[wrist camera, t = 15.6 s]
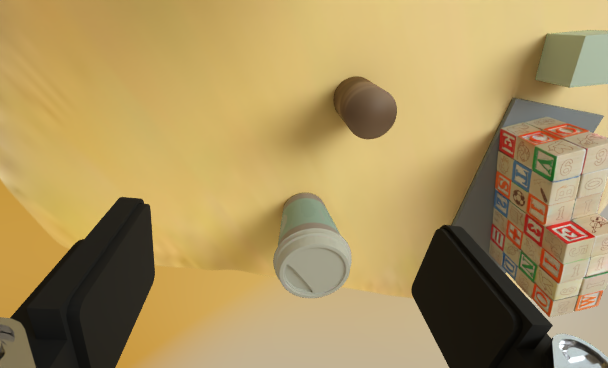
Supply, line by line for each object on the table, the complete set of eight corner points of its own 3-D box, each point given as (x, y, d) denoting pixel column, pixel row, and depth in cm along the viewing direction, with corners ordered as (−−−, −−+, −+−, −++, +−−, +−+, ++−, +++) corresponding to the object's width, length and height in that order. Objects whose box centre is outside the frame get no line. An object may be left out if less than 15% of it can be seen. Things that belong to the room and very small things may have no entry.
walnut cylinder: (339, 72, 35) (354, 83, 29) (380, 80, 36) (403, 93, 30) (329, 116, 37) (341, 135, 31) (368, 122, 38) (387, 142, 32)
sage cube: (546, 33, 35) (585, 35, 31) (588, 30, 36) (633, 31, 31) (534, 79, 38) (569, 87, 33) (573, 75, 38) (613, 83, 34)
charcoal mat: (513, 97, 38) (516, 98, 38) (599, 114, 41) (603, 116, 40) (432, 265, 50) (433, 268, 50) (502, 271, 52) (504, 274, 52)
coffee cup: (271, 185, 41) (271, 242, 30) (335, 181, 41) (358, 237, 31) (274, 237, 45) (275, 305, 34) (333, 234, 45) (352, 298, 35)
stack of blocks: (497, 127, 39) (584, 167, 28) (546, 114, 39) (652, 150, 28) (488, 254, 49) (550, 320, 39) (527, 244, 49) (600, 308, 38)
